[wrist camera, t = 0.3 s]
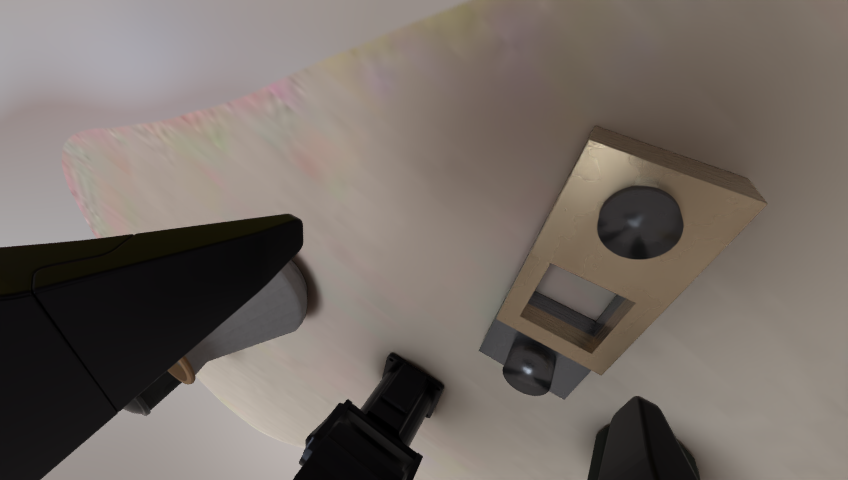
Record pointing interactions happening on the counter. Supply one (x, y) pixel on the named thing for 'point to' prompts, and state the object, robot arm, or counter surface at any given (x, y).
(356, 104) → the counter surface
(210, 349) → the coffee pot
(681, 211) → the knobbed window plate
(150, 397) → the drinking cup
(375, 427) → the robot arm
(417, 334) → the counter surface
